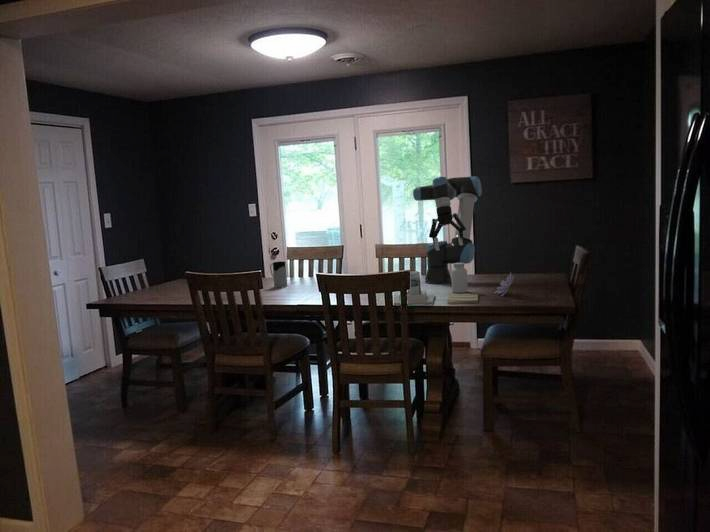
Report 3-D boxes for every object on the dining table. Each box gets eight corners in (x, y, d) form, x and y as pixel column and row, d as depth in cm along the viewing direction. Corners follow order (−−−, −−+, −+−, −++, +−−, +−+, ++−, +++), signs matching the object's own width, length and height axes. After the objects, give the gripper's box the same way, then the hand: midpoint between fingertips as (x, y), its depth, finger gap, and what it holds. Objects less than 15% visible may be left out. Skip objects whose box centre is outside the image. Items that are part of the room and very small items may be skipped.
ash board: (449, 296, 295) (449, 294, 295) (477, 295, 293) (477, 293, 292) (447, 303, 278) (447, 301, 278) (478, 303, 275) (477, 300, 275)
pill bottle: (467, 293, 301) (466, 264, 299) (451, 293, 303) (450, 264, 301) (467, 290, 309) (466, 261, 307) (452, 290, 311) (451, 262, 309)
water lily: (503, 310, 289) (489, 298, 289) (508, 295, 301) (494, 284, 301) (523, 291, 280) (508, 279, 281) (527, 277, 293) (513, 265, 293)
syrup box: (411, 302, 286) (409, 273, 284) (405, 300, 292) (403, 271, 290) (421, 301, 289) (420, 271, 287) (415, 299, 294) (414, 270, 292)
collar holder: (395, 297, 302) (395, 289, 301) (435, 296, 298) (434, 288, 297) (390, 305, 282) (389, 297, 282) (432, 304, 278) (432, 296, 278)
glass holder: (278, 288, 353) (276, 263, 351) (265, 286, 364) (263, 262, 362) (291, 286, 359) (289, 261, 357) (277, 284, 369) (275, 260, 367)
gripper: (419, 211, 308) (424, 251, 305) (461, 200, 293) (467, 242, 290) (426, 213, 314) (432, 252, 311) (468, 202, 299) (474, 243, 296)
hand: (449, 247), depth 300 cm, fingers open, 13 cm apart
